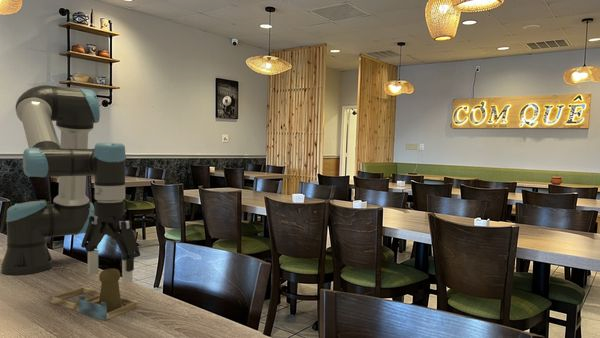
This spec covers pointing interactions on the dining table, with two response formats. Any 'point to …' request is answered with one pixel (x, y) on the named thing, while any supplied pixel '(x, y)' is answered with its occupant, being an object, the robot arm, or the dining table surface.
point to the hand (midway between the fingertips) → (109, 278)
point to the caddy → (92, 304)
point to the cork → (110, 289)
